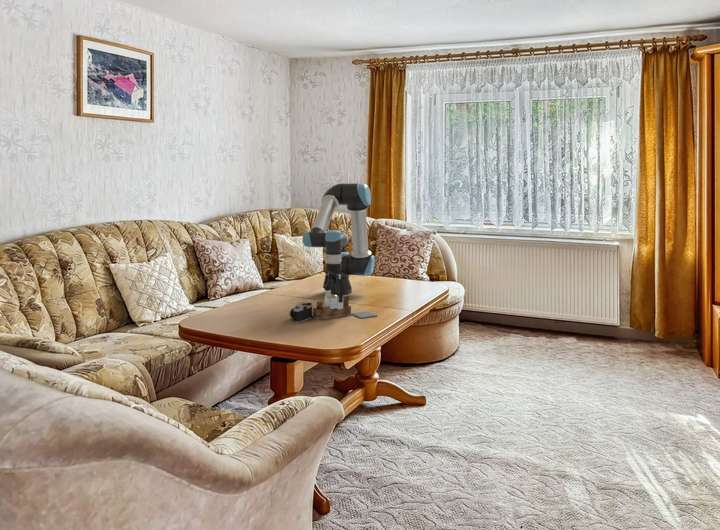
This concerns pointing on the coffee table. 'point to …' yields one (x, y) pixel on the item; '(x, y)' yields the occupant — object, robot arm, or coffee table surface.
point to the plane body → (332, 310)
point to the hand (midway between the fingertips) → (333, 306)
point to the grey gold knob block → (331, 301)
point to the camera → (301, 312)
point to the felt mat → (364, 314)
